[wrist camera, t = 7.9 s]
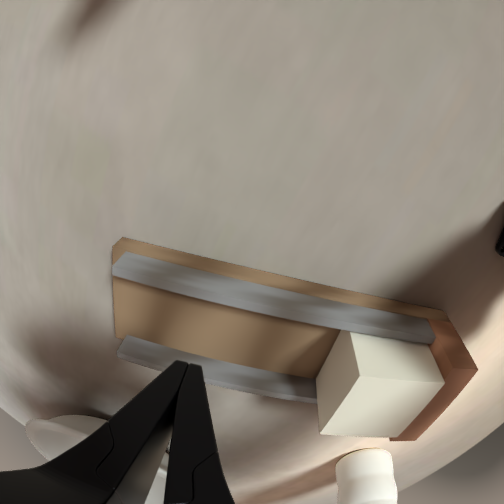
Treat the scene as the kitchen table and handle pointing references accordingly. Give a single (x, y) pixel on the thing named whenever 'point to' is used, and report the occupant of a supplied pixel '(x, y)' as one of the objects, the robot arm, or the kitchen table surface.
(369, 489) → the water bottle
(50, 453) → the soup bowl
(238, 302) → the track
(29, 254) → the kitchen table surface
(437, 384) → the block
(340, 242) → the kitchen table surface
